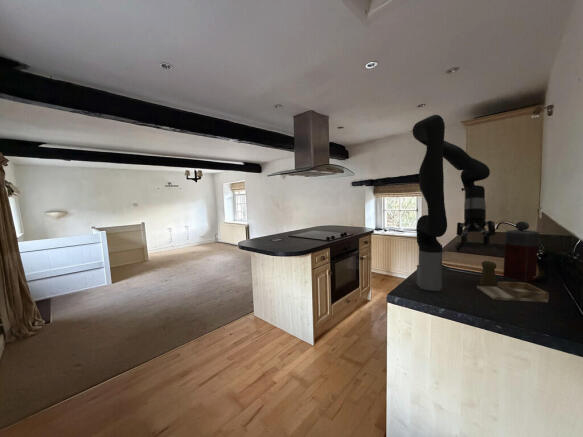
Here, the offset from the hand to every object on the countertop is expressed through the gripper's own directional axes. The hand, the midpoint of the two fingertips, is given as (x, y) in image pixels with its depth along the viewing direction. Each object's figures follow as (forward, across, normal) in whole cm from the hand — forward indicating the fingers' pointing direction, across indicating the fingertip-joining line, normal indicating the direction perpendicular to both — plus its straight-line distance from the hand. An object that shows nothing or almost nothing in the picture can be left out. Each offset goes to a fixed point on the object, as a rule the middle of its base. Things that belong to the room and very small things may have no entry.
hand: (474, 245), depth 103 cm
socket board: (+20, +8, +10) cm, 23 cm away
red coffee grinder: (+13, -1, +38) cm, 40 cm away
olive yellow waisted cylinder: (+17, -2, +14) cm, 22 cm away
